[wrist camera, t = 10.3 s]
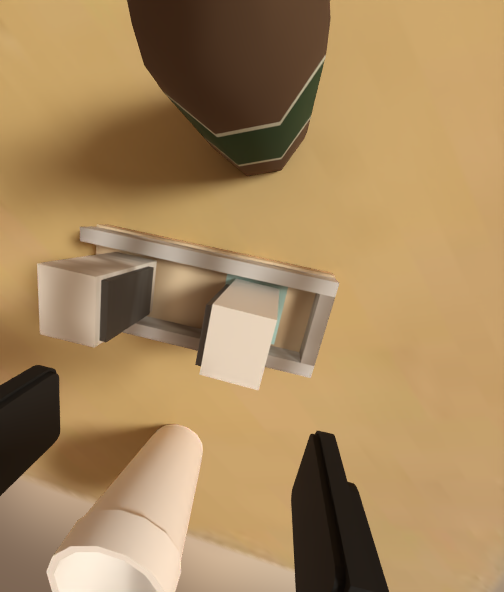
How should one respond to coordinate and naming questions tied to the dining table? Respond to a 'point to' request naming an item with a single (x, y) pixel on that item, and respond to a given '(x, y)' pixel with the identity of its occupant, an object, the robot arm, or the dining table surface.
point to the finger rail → (176, 294)
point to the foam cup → (135, 522)
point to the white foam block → (238, 333)
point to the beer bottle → (238, 70)
